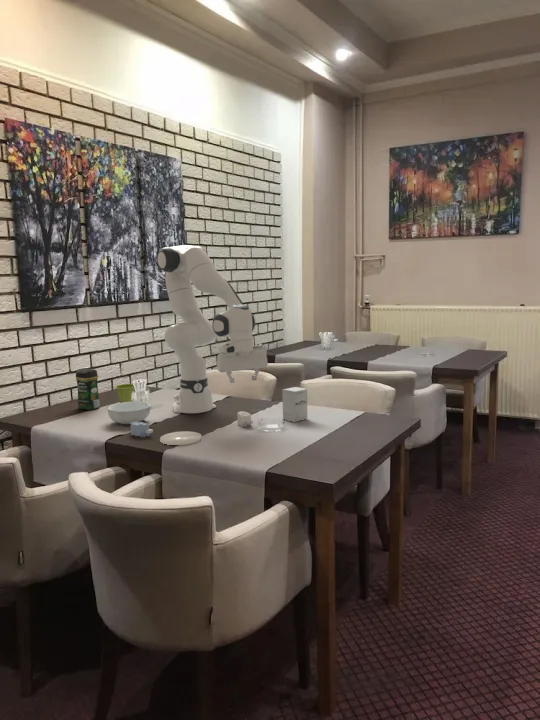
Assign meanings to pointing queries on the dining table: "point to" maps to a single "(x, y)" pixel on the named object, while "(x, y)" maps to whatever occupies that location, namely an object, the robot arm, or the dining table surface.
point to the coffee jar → (87, 389)
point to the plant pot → (124, 392)
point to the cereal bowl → (129, 412)
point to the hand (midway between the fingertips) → (243, 381)
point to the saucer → (181, 438)
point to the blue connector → (140, 429)
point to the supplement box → (294, 404)
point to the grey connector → (244, 419)
